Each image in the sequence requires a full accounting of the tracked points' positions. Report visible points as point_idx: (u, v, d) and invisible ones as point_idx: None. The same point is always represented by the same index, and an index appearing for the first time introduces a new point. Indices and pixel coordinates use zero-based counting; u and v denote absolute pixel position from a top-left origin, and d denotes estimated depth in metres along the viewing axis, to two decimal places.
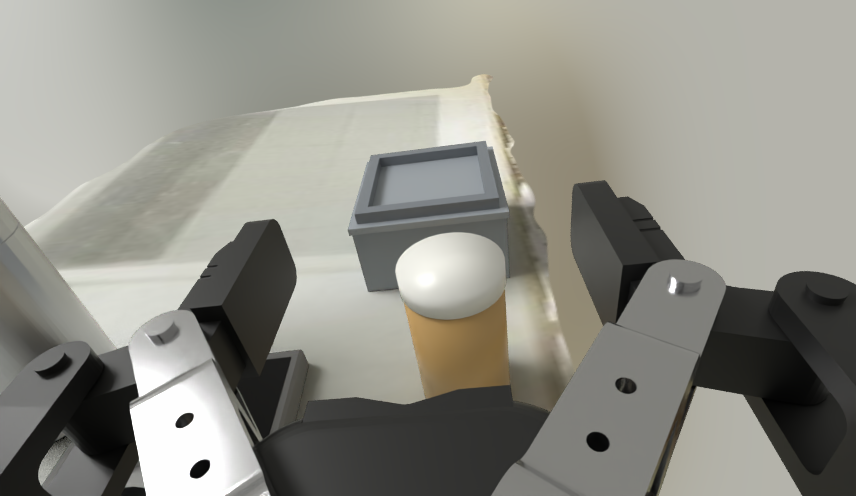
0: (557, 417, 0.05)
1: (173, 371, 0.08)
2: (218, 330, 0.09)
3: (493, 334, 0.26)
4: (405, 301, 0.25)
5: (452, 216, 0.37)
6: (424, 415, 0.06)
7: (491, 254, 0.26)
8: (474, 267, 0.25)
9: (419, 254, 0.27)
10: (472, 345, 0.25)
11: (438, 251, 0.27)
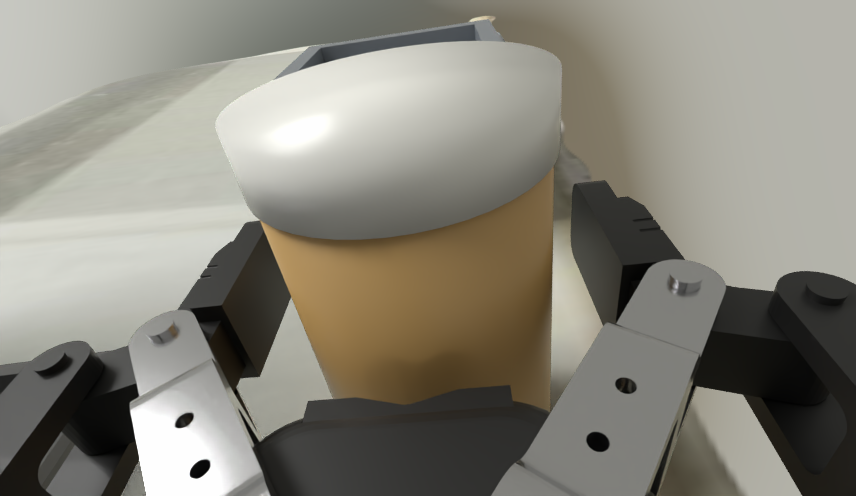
0: (557, 417, 0.05)
1: (173, 371, 0.08)
2: (218, 330, 0.09)
3: (522, 301, 0.09)
4: (243, 194, 0.08)
5: None
6: (424, 415, 0.06)
7: (514, 58, 0.09)
8: (463, 81, 0.08)
9: (310, 79, 0.09)
10: (457, 334, 0.08)
11: (363, 70, 0.09)
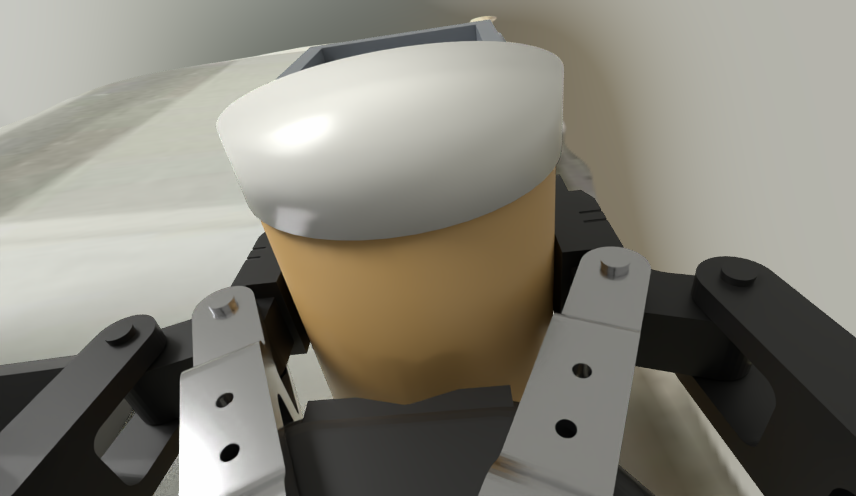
0: (557, 417, 0.05)
1: (225, 346, 0.08)
2: (272, 306, 0.10)
3: (522, 302, 0.08)
4: (244, 194, 0.08)
5: None
6: (424, 414, 0.06)
7: (516, 58, 0.09)
8: (465, 81, 0.08)
9: (312, 79, 0.09)
10: (459, 335, 0.08)
11: (364, 71, 0.09)
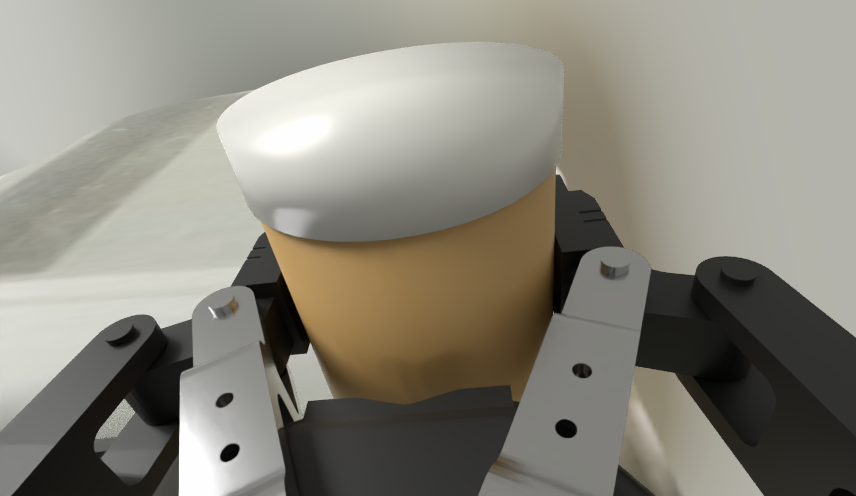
0: (557, 417, 0.05)
1: (226, 346, 0.08)
2: (272, 306, 0.10)
3: (523, 302, 0.09)
4: (244, 196, 0.08)
5: None
6: (424, 415, 0.06)
7: (516, 59, 0.09)
8: (465, 82, 0.08)
9: (312, 80, 0.09)
10: (459, 336, 0.08)
11: (364, 72, 0.09)
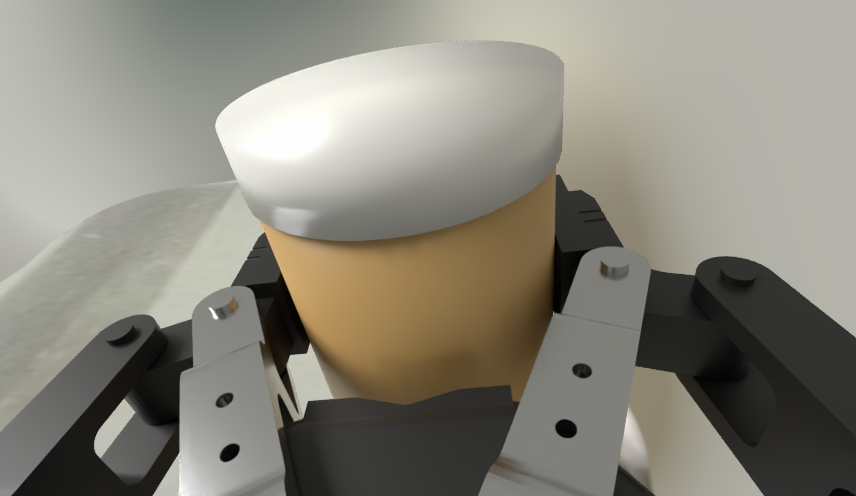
0: (557, 417, 0.05)
1: (226, 346, 0.08)
2: (272, 306, 0.10)
3: (523, 302, 0.08)
4: (243, 195, 0.08)
5: None
6: (423, 415, 0.06)
7: (516, 58, 0.09)
8: (465, 81, 0.08)
9: (311, 79, 0.09)
10: (459, 335, 0.08)
11: (363, 70, 0.09)
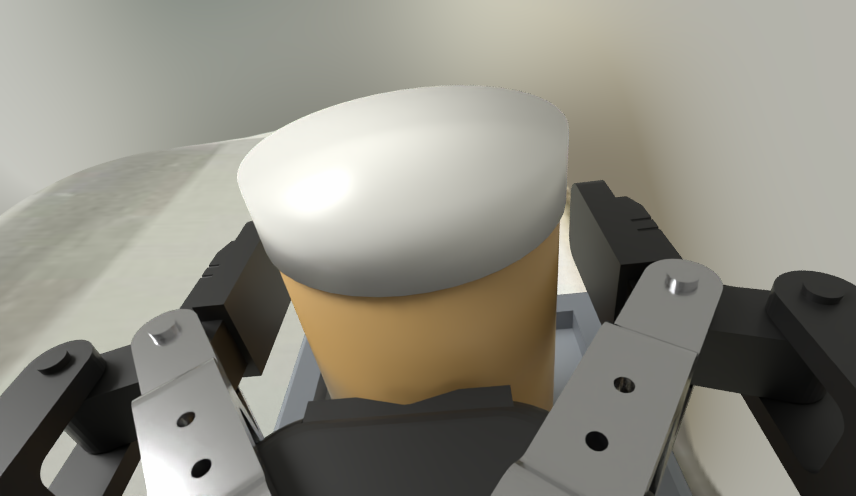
0: (557, 417, 0.05)
1: (175, 370, 0.08)
2: (220, 329, 0.09)
3: (527, 345, 0.09)
4: (263, 244, 0.08)
5: None
6: (424, 415, 0.06)
7: (523, 111, 0.09)
8: (475, 139, 0.08)
9: (325, 125, 0.10)
10: (466, 379, 0.08)
11: (376, 117, 0.10)
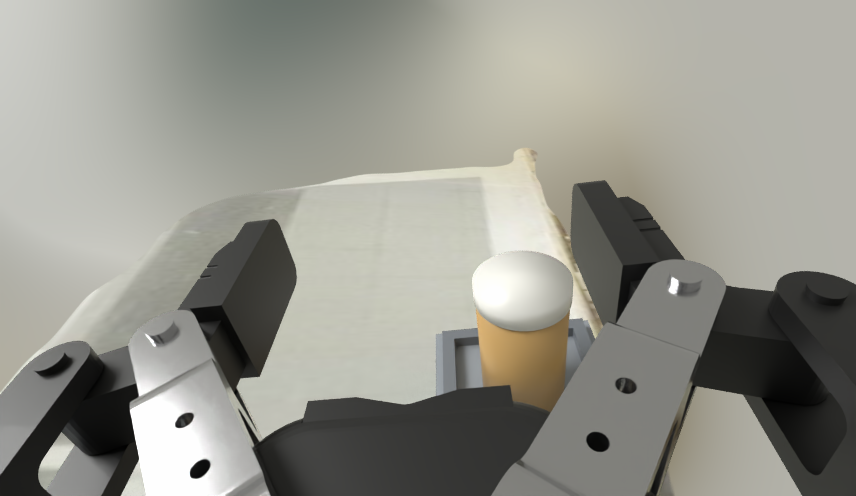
0: (557, 417, 0.05)
1: (173, 371, 0.08)
2: (218, 330, 0.09)
3: (558, 345, 0.29)
4: (481, 313, 0.28)
5: None
6: (423, 415, 0.06)
7: (559, 272, 0.29)
8: (545, 285, 0.28)
9: (493, 270, 0.30)
10: (540, 354, 0.28)
11: (509, 268, 0.30)
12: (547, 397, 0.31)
